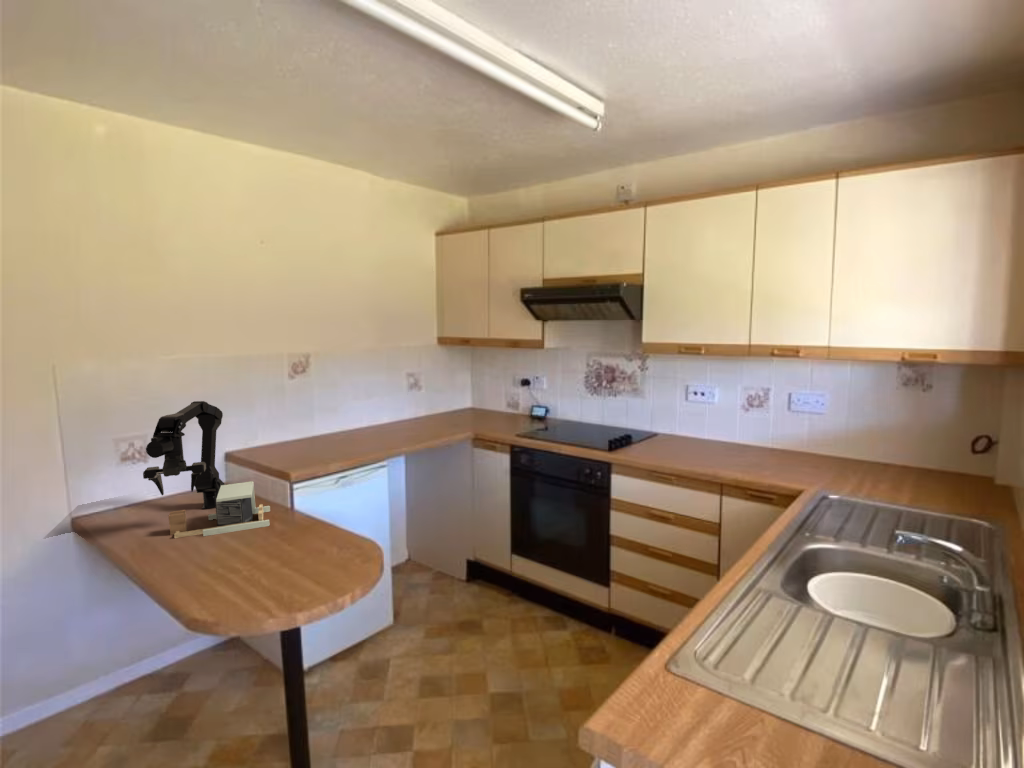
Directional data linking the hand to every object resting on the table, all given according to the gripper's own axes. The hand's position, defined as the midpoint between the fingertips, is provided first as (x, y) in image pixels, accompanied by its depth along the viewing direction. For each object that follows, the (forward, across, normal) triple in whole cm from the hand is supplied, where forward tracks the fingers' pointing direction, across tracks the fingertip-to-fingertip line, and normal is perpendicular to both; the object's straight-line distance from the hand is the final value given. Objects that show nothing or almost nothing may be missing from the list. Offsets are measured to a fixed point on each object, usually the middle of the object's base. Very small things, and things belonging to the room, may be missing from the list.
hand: (177, 493), depth 197 cm
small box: (+13, +18, -5) cm, 23 cm away
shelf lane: (+12, +19, -5) cm, 24 cm away
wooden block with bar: (+12, +13, -6) cm, 19 cm away
